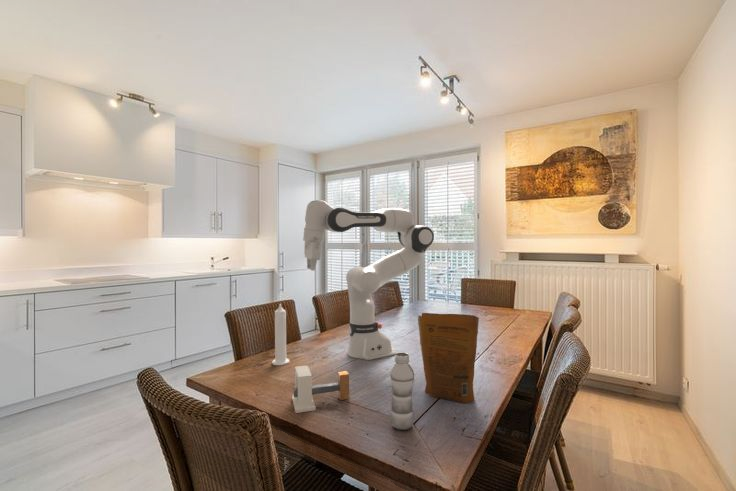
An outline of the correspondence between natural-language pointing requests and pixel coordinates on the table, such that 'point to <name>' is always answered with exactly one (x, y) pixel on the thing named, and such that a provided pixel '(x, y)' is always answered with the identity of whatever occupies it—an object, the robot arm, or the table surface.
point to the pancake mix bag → (449, 354)
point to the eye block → (303, 390)
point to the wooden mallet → (332, 387)
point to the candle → (280, 337)
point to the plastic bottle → (402, 393)
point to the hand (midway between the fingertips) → (310, 269)
